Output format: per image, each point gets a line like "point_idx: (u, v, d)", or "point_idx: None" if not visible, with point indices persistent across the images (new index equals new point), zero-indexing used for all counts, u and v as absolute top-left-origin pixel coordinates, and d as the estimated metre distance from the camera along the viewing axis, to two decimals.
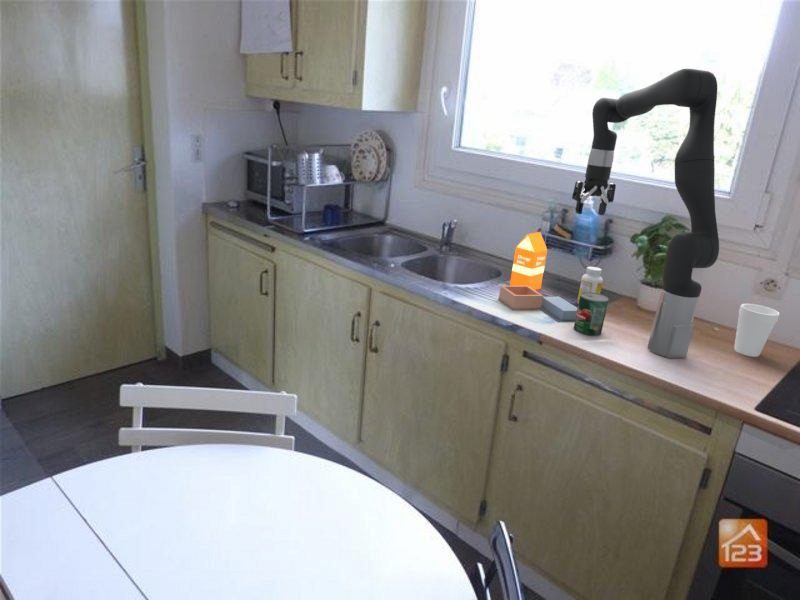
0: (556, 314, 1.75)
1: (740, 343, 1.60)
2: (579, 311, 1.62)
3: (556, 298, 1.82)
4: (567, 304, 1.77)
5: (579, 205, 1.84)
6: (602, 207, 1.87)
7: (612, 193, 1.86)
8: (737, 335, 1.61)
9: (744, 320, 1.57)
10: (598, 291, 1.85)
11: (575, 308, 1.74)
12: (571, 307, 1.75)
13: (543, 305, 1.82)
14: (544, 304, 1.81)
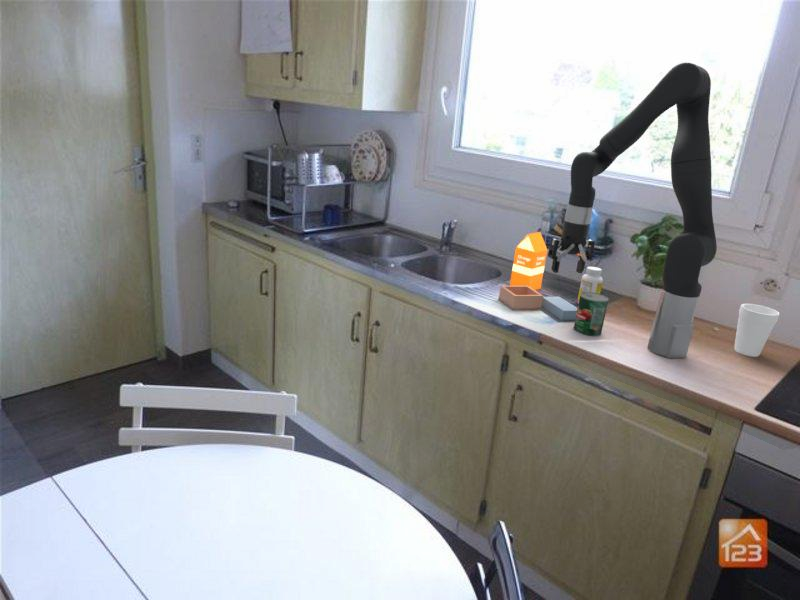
0: (556, 314, 1.75)
1: (740, 343, 1.60)
2: (579, 311, 1.62)
3: (556, 298, 1.82)
4: (567, 304, 1.77)
5: (555, 264, 1.72)
6: (580, 265, 1.74)
7: (591, 250, 1.73)
8: (737, 335, 1.61)
9: (744, 320, 1.57)
10: (598, 291, 1.85)
11: (575, 308, 1.74)
12: (571, 307, 1.75)
13: (543, 305, 1.82)
14: (544, 304, 1.81)
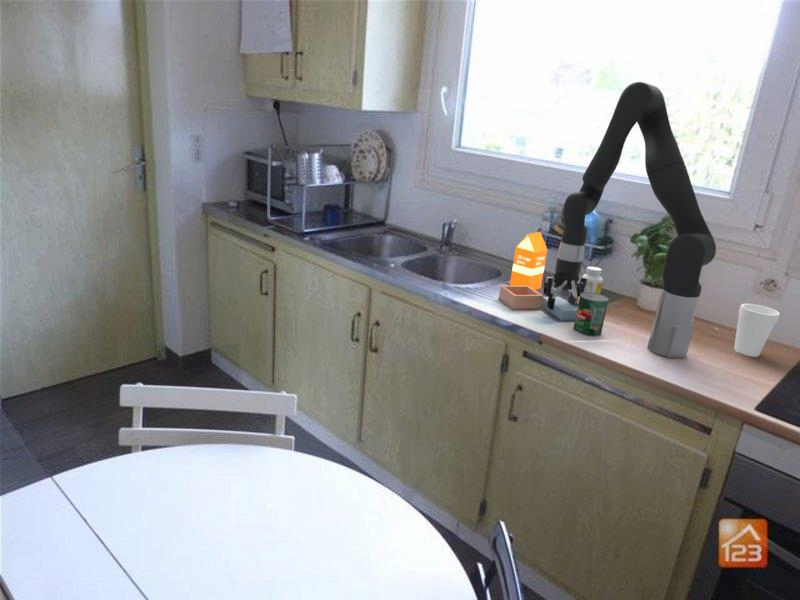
0: (556, 314, 1.75)
1: (740, 343, 1.60)
2: (579, 311, 1.62)
3: (556, 298, 1.82)
4: (567, 304, 1.77)
5: (551, 301, 1.76)
6: (571, 301, 1.78)
7: (582, 287, 1.77)
8: (737, 335, 1.61)
9: (744, 320, 1.57)
10: (598, 291, 1.85)
11: (575, 308, 1.74)
12: (571, 307, 1.75)
13: (543, 305, 1.82)
14: (544, 304, 1.81)
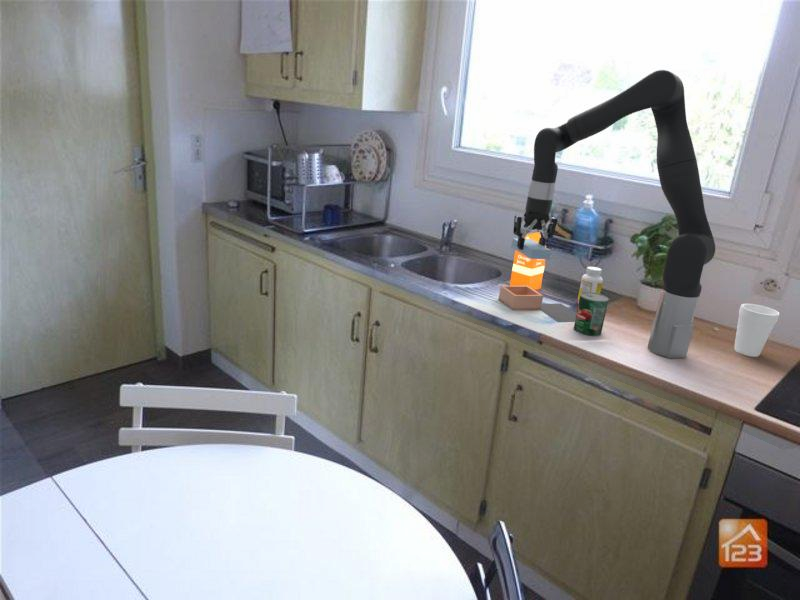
0: (526, 254, 1.74)
1: (740, 343, 1.60)
2: (579, 311, 1.62)
3: (527, 240, 1.81)
4: (537, 245, 1.76)
5: (520, 240, 1.75)
6: (541, 242, 1.77)
7: (553, 228, 1.76)
8: (737, 335, 1.61)
9: (744, 320, 1.57)
10: (598, 291, 1.85)
11: (544, 248, 1.73)
12: (541, 247, 1.74)
13: (514, 246, 1.81)
14: (514, 246, 1.80)
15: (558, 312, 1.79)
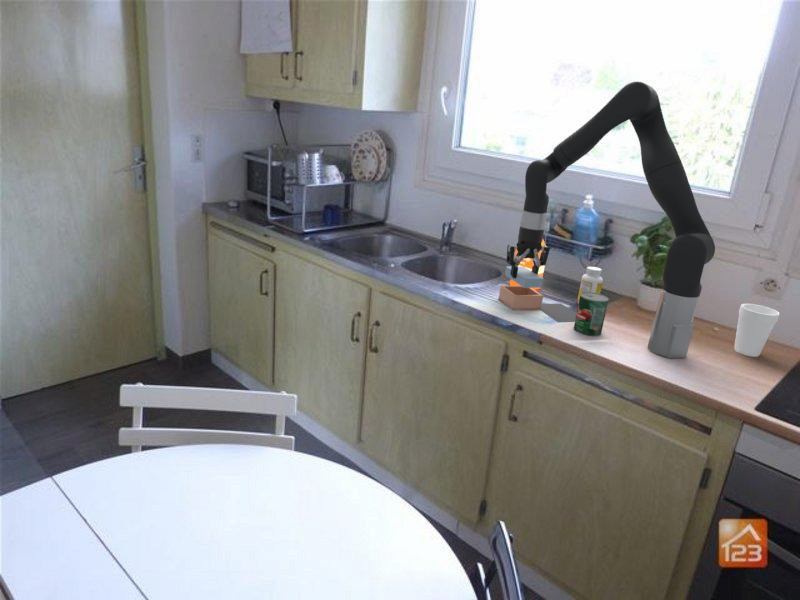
0: (519, 282, 1.76)
1: (740, 343, 1.60)
2: (579, 311, 1.62)
3: (520, 268, 1.84)
4: (530, 273, 1.79)
5: (514, 269, 1.77)
6: (534, 270, 1.80)
7: (545, 256, 1.78)
8: (737, 335, 1.61)
9: (744, 320, 1.57)
10: (598, 291, 1.85)
11: (537, 276, 1.76)
12: (534, 275, 1.77)
13: (507, 274, 1.83)
14: (508, 274, 1.83)
15: (558, 312, 1.79)
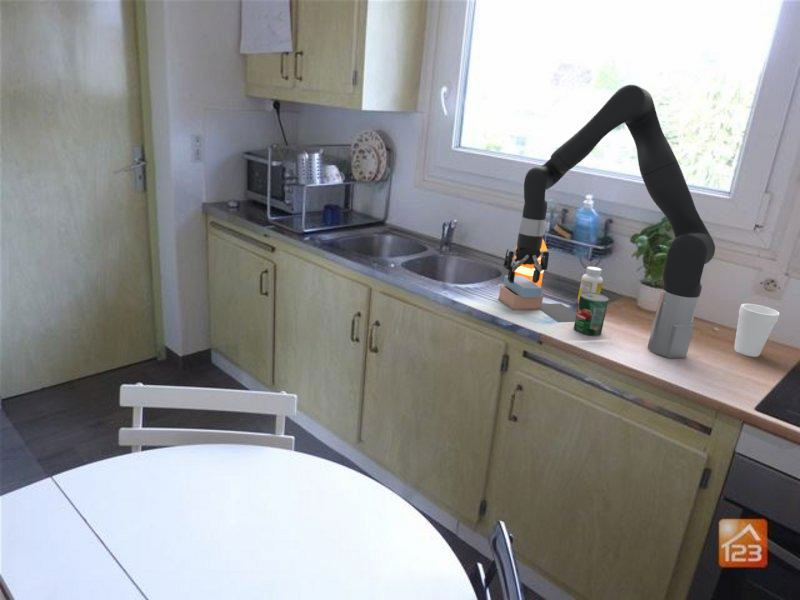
0: (518, 292, 1.77)
1: (740, 343, 1.60)
2: (579, 311, 1.62)
3: (519, 277, 1.85)
4: (529, 282, 1.80)
5: (511, 274, 1.78)
6: (535, 275, 1.80)
7: (545, 261, 1.79)
8: (737, 335, 1.61)
9: (744, 320, 1.57)
10: (598, 291, 1.85)
11: (536, 286, 1.77)
12: (532, 285, 1.78)
13: (506, 284, 1.84)
14: (506, 283, 1.84)
15: (558, 312, 1.79)
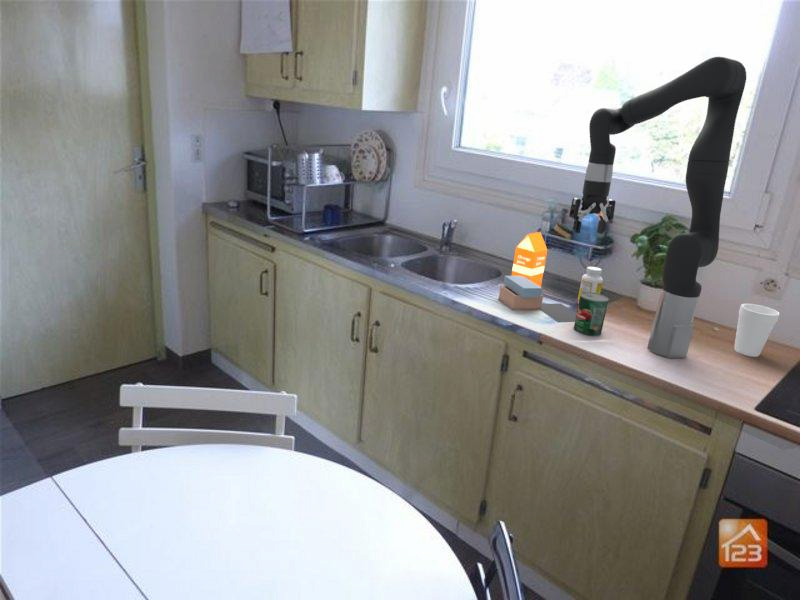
0: (518, 292, 1.77)
1: (740, 343, 1.60)
2: (579, 311, 1.62)
3: (519, 277, 1.85)
4: (529, 282, 1.80)
5: (577, 224, 1.70)
6: (601, 225, 1.73)
7: (612, 210, 1.72)
8: (737, 335, 1.61)
9: (744, 320, 1.57)
10: (598, 291, 1.85)
11: (536, 286, 1.77)
12: (532, 285, 1.78)
13: (506, 284, 1.84)
14: (506, 283, 1.84)
15: (558, 312, 1.79)
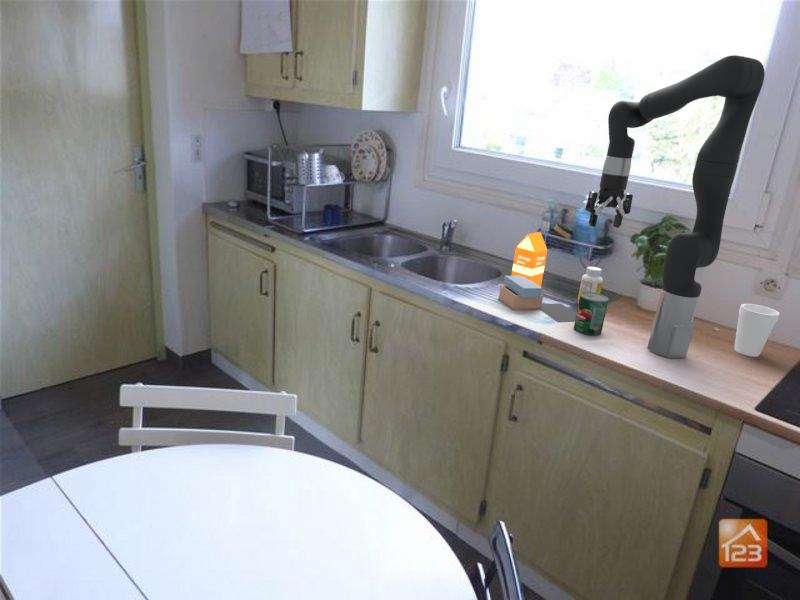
0: (518, 292, 1.77)
1: (740, 343, 1.60)
2: (579, 311, 1.62)
3: (519, 277, 1.85)
4: (529, 282, 1.80)
5: (593, 217, 1.70)
6: (618, 219, 1.73)
7: (629, 204, 1.71)
8: (737, 335, 1.61)
9: (744, 320, 1.57)
10: (598, 291, 1.85)
11: (536, 286, 1.77)
12: (532, 285, 1.78)
13: (506, 284, 1.84)
14: (506, 283, 1.84)
15: (558, 312, 1.79)
